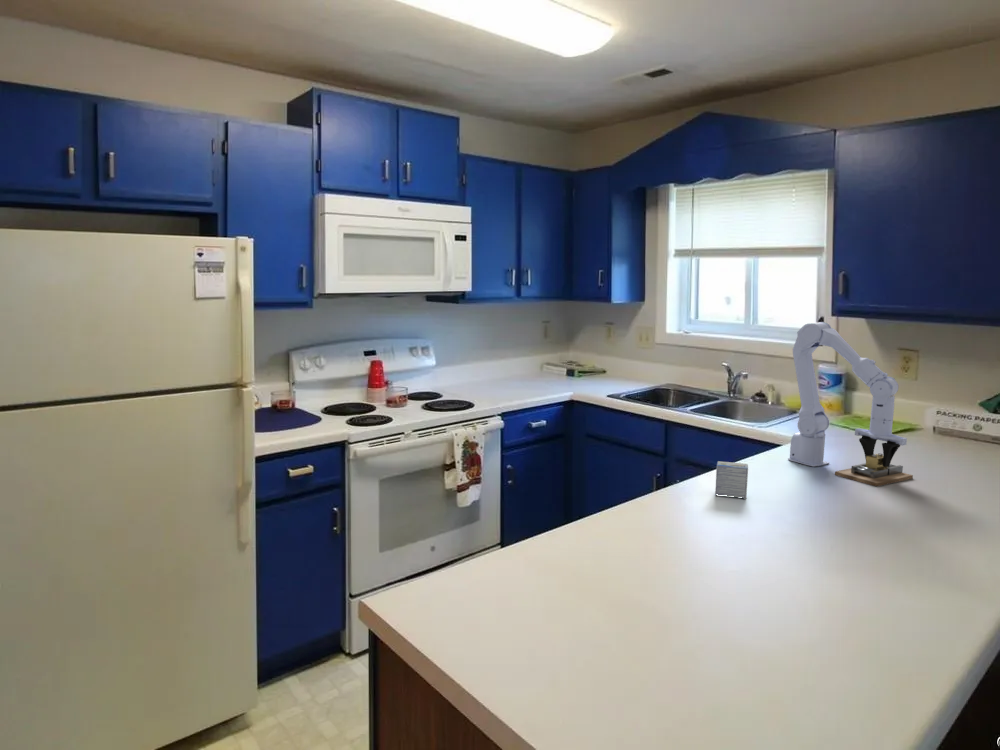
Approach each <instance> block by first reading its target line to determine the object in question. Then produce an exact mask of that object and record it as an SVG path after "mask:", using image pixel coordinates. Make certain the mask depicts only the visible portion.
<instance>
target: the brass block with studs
mask: <svg viewBox="0 0 1000 750" xmlns="http://www.w3.org/2000/svg"><path fill="white" fill-rule="evenodd" d="M865 463H866V467H868V468H872V469H875V470H879V469H884V468H887V467H888V466H887V467H884V466H883V453H881V452H880V453H875V454H873V455H869V456H866V458H865Z"/></svg>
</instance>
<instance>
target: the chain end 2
mask: <svg viewBox="0 0 1000 750" xmlns="http://www.w3.org/2000/svg"><path fill="white" fill-rule="evenodd" d="M886 469H888V475H893V474H898V473H903V470H904V466H903V465H902V464H901V465H900V464H899V465H895V464H891V463H890V465H889V466H888V467H887V468H886Z"/></svg>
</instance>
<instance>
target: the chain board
mask: <svg viewBox="0 0 1000 750" xmlns="http://www.w3.org/2000/svg"><path fill="white" fill-rule="evenodd" d="M851 468H852V467H850V468H845V469H840V470H836V471H834V475H835V476H837V477H841V478H844V479H848V480H853V481H857V482H859V483H862V484H867V485H869V486H873V487H881V486H884V485H890V484H895V483H899V482H903V481H907V480H908V481H909V480H911V479H912V480H913V478H914V475H913V474H910V473H905V472H902V473H898V474H893V475H888V476H884V477H880V478H875V479H872V478H870V477H868V476H864V475H861V474H857V473H851Z"/></svg>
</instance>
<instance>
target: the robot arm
mask: <svg viewBox="0 0 1000 750" xmlns="http://www.w3.org/2000/svg"><path fill="white" fill-rule="evenodd" d="M796 334H797V336H796V339H795V343H794V344H793V348H792V356H793V362H794V367H795V374H796V381H797V387H798V393H799V399H800V406H801V407H800V409H799V412H798V420H797V421H798V422H797V429H798V432H795V433H794V434H792V436H791V439H790V449H789V457H788V458H787V460H788V461H792V462H794V463H799V464H802V465H804V466H808V467H809V466H810V467H812V468H815V467H819V466H825V465H829V464H830V462H829V461H825V460H824V458H825V457H824V455H825V444H826V433H825V432H826V431H827V429H828V428H829V426H830V419H829V417H828V416H827V414H826V413H825V408H824V407H823V406H822V404H821V403H820V395H819V391H818V384H817V378H816V374H815V366H814V360H813V353H814V351H816V349H817V348H819V346H824V347H830V348H832V349H833V350H834V351H835V352H837V353H838V354H839V355H840V356H841V357H842V358H844V359H845V360H846V361H847V362H848V363H849V364H850V365H851V371H852V373H854V375H855V376H857V378H858V379H860V380H861V382H863V383H864V384H865V385H866V386H867V387H868V388H869V392H870V394H871V395H872V401H871V409H870V411H871V412H870V420H869V421H870V422H869V429H865V428H860V427H859V428H855V430H854V436H858V437H859V436H860V438H859V439H858V442H859V443H860V445H861V447H862V450H863V452H864V458H865V459H866V456H869V455H873V454H874V451H875V447H876V443H877V440H878V441H882V443H881V446H882V452H883V453H882V454H883V466H884V467H887V466H889V465H890V464H891V462H892V460H893V457H894V455H895V454H896V452H897V451H898V450H899V448H900V447H901V446H907V442H908V438H907V437H903V436H900V435H897V434H893V432H892V431H893V423H894V412H895V411H894V410H895V399H896V398H895V397H896V396H895V395H896V394H897V392H898V391H899V383H898V381H897V380H896V379H895V378H894V377H892V376H888V375H889V374H888V373H887V372H886V371H885V372H884V371H883V370H881V368H880V367H879V366H877V365H876V361H875V359H870V358H869V357H861V356H860V355H859V353H858V352H857V351H856V350H855V349H854V348H853V347H852V346H851V345H850V344H849V343H848V342H847V341H846V340H845V339H844V338H843V337H842V336H841V335H840V333H839V332H838V331H837V329H835V328H833V327H832V326H831V325H830V324H829V323H827V322H825V321H818V322H809V323H805V324H804V325H803V326H802V327H801V328H800V329H799V330H797V333H796Z"/></svg>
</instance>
